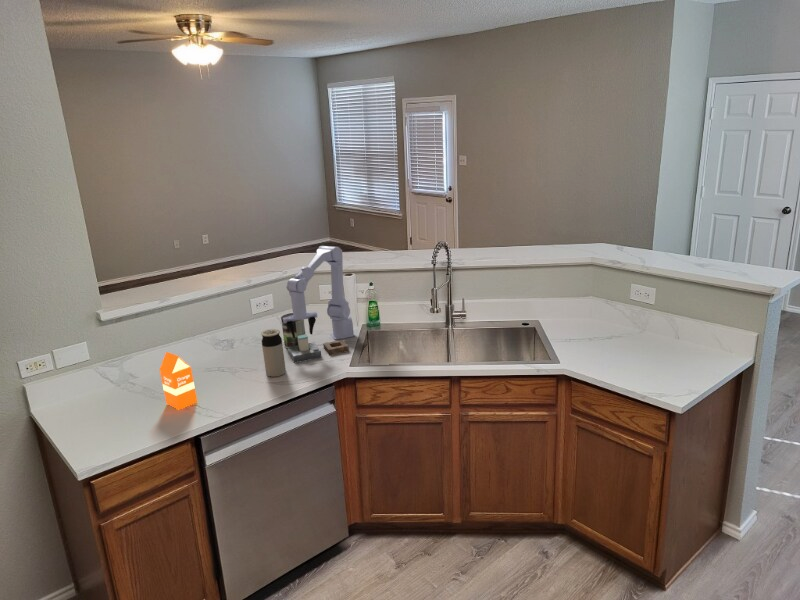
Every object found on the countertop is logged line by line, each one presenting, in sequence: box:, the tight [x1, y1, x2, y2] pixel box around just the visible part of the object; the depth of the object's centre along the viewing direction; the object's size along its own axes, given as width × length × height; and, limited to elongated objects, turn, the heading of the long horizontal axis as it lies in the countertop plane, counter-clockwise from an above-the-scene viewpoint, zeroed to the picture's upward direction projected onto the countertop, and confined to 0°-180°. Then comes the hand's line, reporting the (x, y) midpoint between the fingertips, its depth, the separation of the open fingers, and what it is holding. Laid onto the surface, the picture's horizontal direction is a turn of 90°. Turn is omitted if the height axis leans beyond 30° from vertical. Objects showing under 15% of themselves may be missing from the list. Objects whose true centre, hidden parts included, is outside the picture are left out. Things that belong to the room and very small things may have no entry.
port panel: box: [287, 342, 322, 364], centre depth 252 cm, size 12×12×3 cm
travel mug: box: [260, 328, 287, 378], centre depth 233 cm, size 8×8×18 cm
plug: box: [297, 333, 309, 352], centre depth 251 cm, size 4×4×9 cm
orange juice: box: [159, 351, 198, 411], centre depth 211 cm, size 8×9×20 cm
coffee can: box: [280, 312, 306, 349], centre depth 263 cm, size 10×10×14 cm
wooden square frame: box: [322, 339, 350, 356], centre depth 256 cm, size 9×9×2 cm
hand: (302, 335), depth 249 cm, fingers open, 7 cm apart
